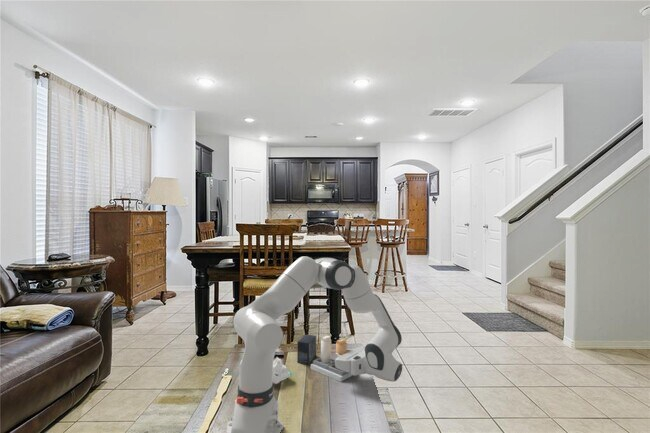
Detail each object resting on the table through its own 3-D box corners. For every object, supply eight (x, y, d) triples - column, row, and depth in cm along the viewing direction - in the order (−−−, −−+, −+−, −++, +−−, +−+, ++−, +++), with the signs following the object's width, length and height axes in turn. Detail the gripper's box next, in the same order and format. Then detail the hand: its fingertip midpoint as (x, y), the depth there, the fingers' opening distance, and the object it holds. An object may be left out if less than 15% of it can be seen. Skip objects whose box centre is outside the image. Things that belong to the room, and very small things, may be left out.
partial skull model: (287, 381, 145) (271, 362, 147) (272, 394, 146) (257, 376, 148) (296, 368, 157) (281, 352, 158) (283, 381, 158) (269, 364, 160)
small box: (304, 354, 180) (304, 333, 180) (316, 356, 178) (316, 335, 178) (296, 362, 170) (296, 341, 170) (309, 364, 168) (309, 342, 168)
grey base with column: (356, 373, 160) (356, 341, 159) (340, 381, 151) (341, 348, 151) (326, 361, 171) (326, 331, 171) (310, 368, 163) (311, 337, 163)
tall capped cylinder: (348, 367, 158) (349, 340, 158) (341, 371, 155) (342, 342, 155) (340, 364, 162) (340, 337, 162) (333, 367, 158) (333, 340, 158)
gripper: (378, 347, 158) (353, 339, 167) (352, 361, 142) (325, 352, 151) (378, 361, 158) (352, 352, 167) (351, 377, 142) (325, 367, 151)
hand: (339, 352), depth 159 cm, fingers closed on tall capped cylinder, 5 cm apart
